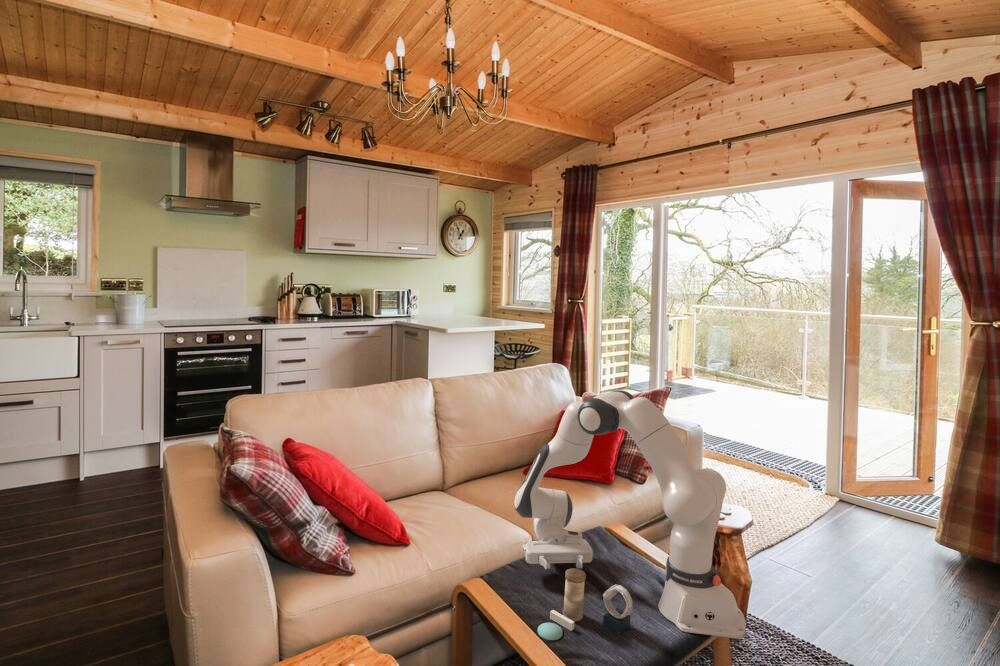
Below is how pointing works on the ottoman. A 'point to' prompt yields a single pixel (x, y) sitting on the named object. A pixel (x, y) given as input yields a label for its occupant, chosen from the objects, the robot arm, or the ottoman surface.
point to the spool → (574, 594)
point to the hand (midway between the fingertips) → (564, 566)
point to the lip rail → (562, 620)
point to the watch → (617, 610)
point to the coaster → (550, 631)
